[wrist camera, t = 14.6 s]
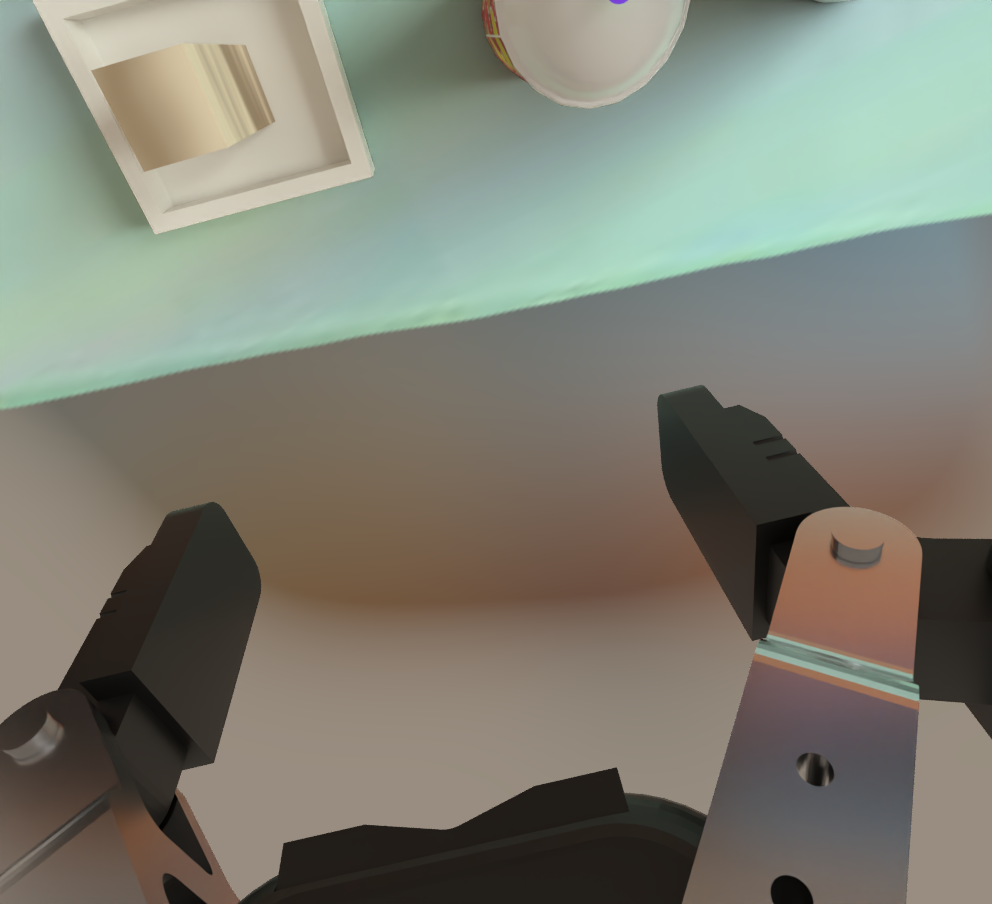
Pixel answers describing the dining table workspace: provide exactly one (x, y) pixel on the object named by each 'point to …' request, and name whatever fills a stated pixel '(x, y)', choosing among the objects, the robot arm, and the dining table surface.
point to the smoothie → (584, 44)
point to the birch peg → (185, 101)
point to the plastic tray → (283, 76)
